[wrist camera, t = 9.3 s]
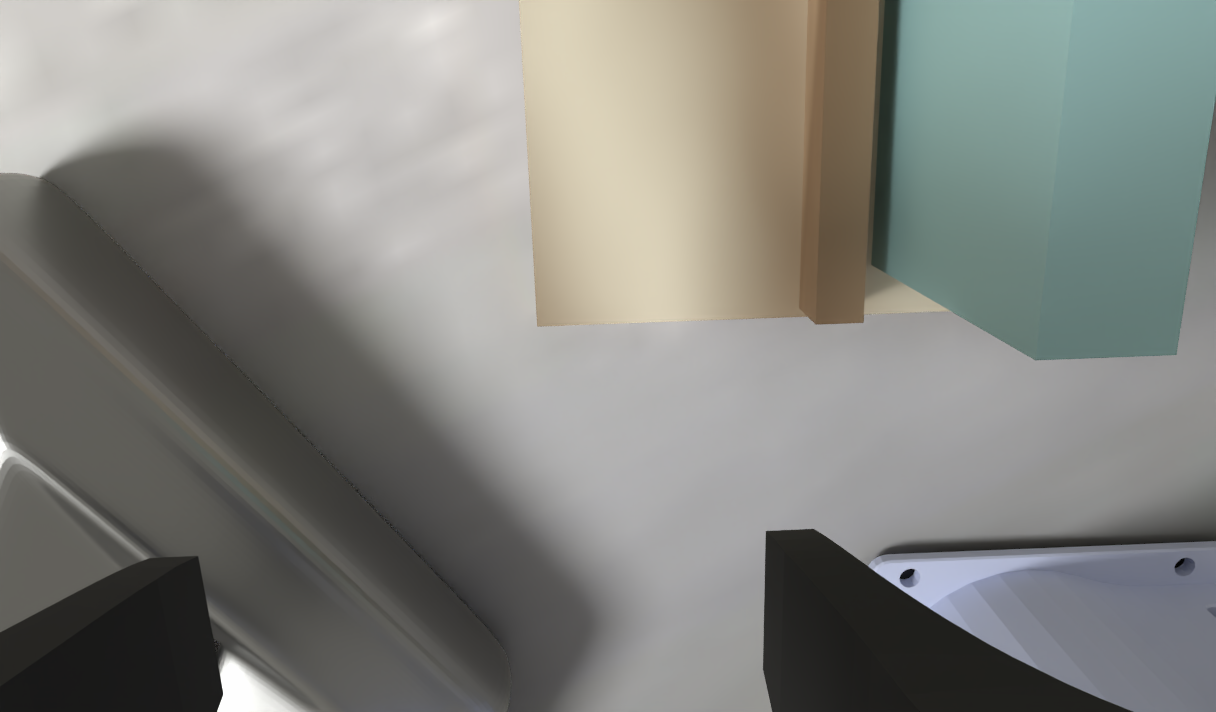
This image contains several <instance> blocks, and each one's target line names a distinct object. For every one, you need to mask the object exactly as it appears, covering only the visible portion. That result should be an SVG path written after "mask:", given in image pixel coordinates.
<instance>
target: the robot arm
mask: <svg viewBox="0 0 1216 712" xmlns="http://www.w3.org/2000/svg"><path fill="white" fill-rule="evenodd" d="M1183 558H1185V560H1184V562H1183V564H1182V565H1181V566H1179V567H1177V568H1174V567H1175V565H1176V563H1177V562H1178V561H1179V560H1180V559H1183ZM908 569H915V571H914V574H913V575H912V576H911V577H910V578H907V579H899V578H900V575H901V573H903V572H904V571H905V570H908ZM763 671H764V675H765V680H766V684H767V689H768V694H769V698H770V703H771V707H772V712H1216V541H1207V542H1182V543H1157V544H1132V545H1107V546H1083V547H1058V548H1033V549H1008V550H983V551H958V552H933V553H909V554H886V555H882V556H879V557H877V558H875V559H874V560H872V562H871V563H870V564H869V566H867V565H865V564H864V563H862V562H861V561H860V560H858V559H857V558H855V557H854V556H853V555H851V554H850V553H848V552H847V551H846V550H844V549H843V548H841V547H840V546H839V545H837V544H836V543H834V542H833V541H832V540H830V539H829V538H827V537H826V536H824V535H823V534H821V533H819V532H818V531H816V530H814V529H804V530H781V531H766V555H765V604H764V653H763ZM223 695H224V694H223V688H222V683H221V677H220V672H219V666H218V661H217V655H216V650H215V644H214V639H213V634H212V628H211V623H210V617H209V612H208V606H207V601H206V595H205V590H204V584H203V579H202V573H201V568H200V563H199V557H198V556H184V557H161V558H148V559H146V560H143V561H141V562H138V563H135V564H133V565H131V566H128V567H126V568H124V569H122V570H119V571H117V572H115V573H113V574H111V575H109V576H107V577H105V578H103V579H101V580H99V581H97V582H95V583H93V584H91V585H89V586H87V587H85V588H83V589H81V590H79V591H78V592H76V593H74V594H72V595H70V596H68V597H66V598H64V599H62V600H61V601H59V602H57V603H55V604H53V605H51V606H49V607H47V608H45V609H43V610H42V611H40V612H38V613H36V614H34V615H32V616H30V617H28V618H26V619H25V620H23V621H21V622H19V623H17V624H15V625H13V626H11V627H9V628H8V629H6V630H4V631H2V632H0V712H217V711H218V708H219V705H220V703H221V700H222V697H223Z"/></svg>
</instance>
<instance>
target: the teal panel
mask: <svg viewBox="0 0 1216 712" xmlns="http://www.w3.org/2000/svg"><path fill="white" fill-rule="evenodd" d="M1215 98H1216V0H885V8H884V27H883V47H882V66H881V86H880V105H879V125H878V144H877V164H876V183H875V203H874V222H873V242H872V261H871V265H872V266H874V267H876V268H878V269H879V270H881V271H883V272H884V273H886V274H888V275H890V276H891V277H893V278H895V279H896V280H898V281H900V282H902V283H903V284H905V285H907V286H909V287H910V288H912V289H914V290H915V291H917V292H919V293H921V294H922V295H924V296H926V297H927V298H929V299H931V300H933V301H934V302H936V303H938V304H940V305H941V306H943V307H945V308H946V309H948V310H950V311H952V312H953V313H955V314H957V315H958V316H960V317H962V318H964V319H965V320H967V321H969V322H971V323H972V324H974V325H976V326H977V327H979V328H981V329H983V330H984V331H986V332H988V333H989V334H991V335H993V336H995V337H996V338H998V339H1000V340H1001V341H1003V342H1005V343H1007V344H1008V345H1010V346H1012V347H1014V348H1015V349H1017V350H1019V351H1020V352H1022V353H1024V354H1026V355H1027V356H1029V357H1031V358H1032V359H1034V360H1055V359H1082V358H1108V357H1135V356H1162V355H1176V354H1177V347H1178V340H1179V334H1180V327H1181V321H1182V314H1183V308H1184V301H1185V295H1186V288H1187V282H1188V275H1189V268H1190V262H1191V255H1192V249H1193V242H1194V236H1195V229H1196V223H1197V216H1198V210H1199V203H1200V196H1201V190H1202V183H1203V177H1204V170H1205V164H1206V157H1207V151H1208V144H1209V138H1210V131H1211V124H1212V118H1213V111H1214V105H1215Z"/></svg>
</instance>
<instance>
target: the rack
mask: <svg viewBox="0 0 1216 712" xmlns="http://www.w3.org/2000/svg"><path fill="white" fill-rule="evenodd" d="M884 8H885V0H519V10H520V28H521V46H522V63H523V81H524V99H525V116H526V134H527V152H528V170H529V187H530V205H531V223H532V241H533V258H534V276H535V294H536V311H537V326H564V325H591V324H618V323H645V322H672V321H699V320H727V319H754V318H781V317H809V318H810V319H811V320H812V321H813V322H814V323H815V324H841V323H863V321H864V314H889V313H916V312H943V311H950V310H948V309H946V308H945V307H943V306H941V305H940V304H938V303H936V302H934V301H933V300H931V299H929V298H927V297H926V296H924V295H922V294H921V293H919V292H917V291H915V290H914V289H912V288H910V287H909V286H907V285H905V284H903V283H902V282H900V281H898V280H896V279H895V278H893V277H891V276H890V275H888V274H886V273H884V272H883V271H881V270H879V269H878V268H876V267H874V266H872V265H871V261H872V242H873V222H874V203H875V183H876V164H877V144H878V125H879V105H880V86H881V66H882V47H883V27H884Z"/></svg>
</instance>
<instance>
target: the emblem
mask: <svg viewBox="0 0 1216 712" xmlns="http://www.w3.org/2000/svg"><path fill="white" fill-rule="evenodd" d="M184 556H198V557H199V563H200V568H201V573H202V579H203V584H204V590H205V595H206V601H207V606H208V612H209V617H210V623H211V628H212V634H213V639H215V640H216V641H218V642H219V643H220V645H219V648H218V650H217V653H216V655H217V661H218V666H219V672H220V677H221V683H222V688H223V694H224V695H223V697H222V700H221V703H220V705H219V708H218V711H217V712H507V710H508V706H509V701H510V695H511V671H510V666H509V661H508V659H507V656H506V654H505V651H504V650H503V648H502V646H501V645H500V644H499V642H498V641H497V640H496V638H495V637H494V636H493V635H492V633H491V632H490V631H489V630H488V629H487V628H486V626H485V625H484V624H483V623H482V622H481V621H480V620H479V619H478V618H477V617H476V616H475V615H474V613H473V612H472V611H471V610H470V609H469V608H468V607H467V606H466V605H465V604H464V603H463V602H462V601H461V600H460V599H459V598H458V597H457V596H456V595H455V593H454V592H453V591H452V590H451V589H450V588H449V587H448V586H447V585H446V584H445V583H444V582H443V581H442V580H441V579H440V578H439V577H438V576H437V575H436V574H435V573H434V572H433V571H432V570H431V569H430V567H429V566H428V565H427V564H426V563H425V562H424V561H423V560H422V559H421V558H420V557H419V556H418V555H417V554H416V553H415V552H414V551H413V550H412V549H411V548H410V547H409V546H408V545H407V544H406V543H405V542H404V541H403V539H402V538H401V537H400V536H399V535H398V534H397V533H396V532H395V531H394V530H393V529H392V528H391V527H390V526H389V525H388V524H387V523H386V522H385V521H384V520H383V519H382V518H381V517H380V516H379V515H378V514H377V512H376V511H375V510H374V509H373V508H372V507H371V506H370V505H369V504H368V503H367V502H366V501H365V500H364V499H363V498H362V497H361V496H360V495H359V494H358V493H357V492H356V491H355V490H354V489H353V488H352V487H351V486H350V484H349V483H348V482H347V481H346V480H345V479H344V478H343V477H342V476H341V475H340V474H339V473H338V472H337V471H336V470H335V469H334V468H333V467H332V466H331V465H330V464H329V463H328V462H327V461H326V460H325V459H324V458H323V456H322V455H321V454H320V453H319V452H318V451H317V450H316V449H315V448H314V447H313V446H312V445H311V444H310V443H309V442H308V441H307V440H306V439H305V438H304V437H303V436H302V435H301V434H300V433H299V432H298V431H297V429H296V428H295V427H294V426H293V425H292V424H291V423H290V422H289V421H288V420H287V419H286V418H285V417H284V416H283V415H282V414H281V413H280V412H279V411H278V410H277V409H276V408H275V407H274V406H273V405H272V403H271V402H270V401H269V400H268V399H267V398H266V397H265V396H264V395H263V394H262V393H261V392H260V391H259V390H258V389H257V388H256V387H255V386H254V385H253V384H252V383H251V382H250V381H249V380H248V379H247V378H246V377H245V375H244V374H243V373H242V372H241V371H240V370H239V369H238V368H237V367H236V366H235V365H234V364H233V363H232V362H231V361H230V360H229V359H228V358H227V357H226V356H225V355H224V354H223V353H222V352H221V351H220V350H219V349H218V348H217V346H216V345H215V344H214V343H213V342H212V341H211V340H210V339H209V338H208V337H207V336H206V335H205V334H204V333H203V332H202V331H201V330H200V329H199V328H198V327H197V326H196V325H195V324H194V323H193V322H192V321H191V320H190V319H189V318H188V317H187V316H186V315H185V314H184V313H183V312H182V311H181V310H180V309H179V308H178V307H177V305H176V304H175V303H174V302H173V301H172V300H171V299H170V298H169V297H168V296H167V295H166V294H165V293H164V292H163V291H162V290H161V289H160V288H159V287H158V286H157V285H156V284H155V283H154V282H153V281H152V280H151V279H150V278H149V277H148V276H147V275H146V274H145V273H144V272H143V271H142V270H141V269H140V268H139V267H138V266H137V265H136V264H135V263H134V262H133V261H132V260H131V258H130V257H129V256H128V255H127V254H126V253H125V252H124V251H123V250H122V249H121V248H120V247H119V246H118V245H117V244H116V243H115V242H114V241H113V240H112V239H111V238H110V237H109V236H108V235H107V234H106V233H105V232H104V231H103V230H102V229H101V228H100V227H99V226H98V225H97V224H96V223H95V222H94V221H93V220H92V219H91V218H90V217H89V216H88V215H87V214H86V213H85V212H84V211H83V210H82V209H81V208H80V207H79V206H78V205H76V204H75V203H74V202H73V201H72V200H71V199H70V198H69V197H68V196H67V195H66V194H64V193H63V192H62V191H61V190H60V189H58V188H57V187H56V186H54V185H53V184H51V183H50V182H48V181H45V180H43V179H40V178H38V177H34V176H30V175H26V174H17V173H0V632H2V631H4V630H6V629H8V628H9V627H11V626H13V625H15V624H17V623H19V622H21V621H23V620H25V619H26V618H28V617H30V616H32V615H34V614H36V613H38V612H40V611H42V610H43V609H45V608H47V607H49V606H51V605H53V604H55V603H57V602H59V601H61V600H62V599H64V598H66V597H68V596H70V595H72V594H74V593H76V592H78V591H79V590H81V589H83V588H85V587H87V586H89V585H91V584H93V583H95V582H97V581H99V580H101V579H103V578H105V577H107V576H109V575H111V574H113V573H115V572H117V571H119V570H122V569H124V568H126V567H128V566H131V565H133V564H135V563H138V562H141V561H143V560H146V559H148V558H161V557H184Z"/></svg>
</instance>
